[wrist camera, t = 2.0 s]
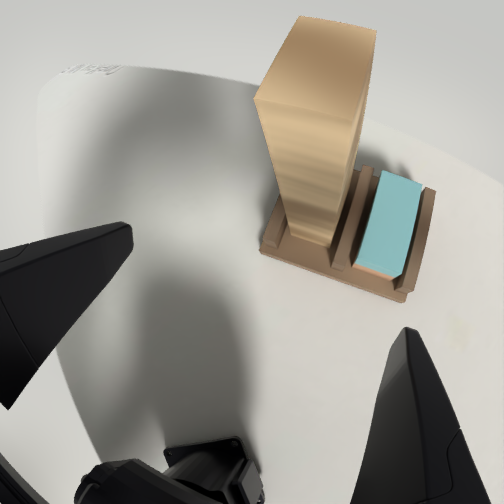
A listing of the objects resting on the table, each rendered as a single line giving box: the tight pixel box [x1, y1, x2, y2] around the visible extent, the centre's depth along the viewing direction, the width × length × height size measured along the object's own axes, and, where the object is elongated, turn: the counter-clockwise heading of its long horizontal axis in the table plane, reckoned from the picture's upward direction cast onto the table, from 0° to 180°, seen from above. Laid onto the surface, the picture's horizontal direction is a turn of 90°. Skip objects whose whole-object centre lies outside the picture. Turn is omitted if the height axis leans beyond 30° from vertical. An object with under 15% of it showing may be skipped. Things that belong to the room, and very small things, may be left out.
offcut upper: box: [355, 170, 422, 278], centre depth 18 cm, size 6×3×2 cm, turn 158°
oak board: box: [254, 16, 376, 248], centre depth 15 cm, size 4×3×14 cm, turn 158°
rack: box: [259, 165, 436, 303], centre depth 20 cm, size 8×11×3 cm
